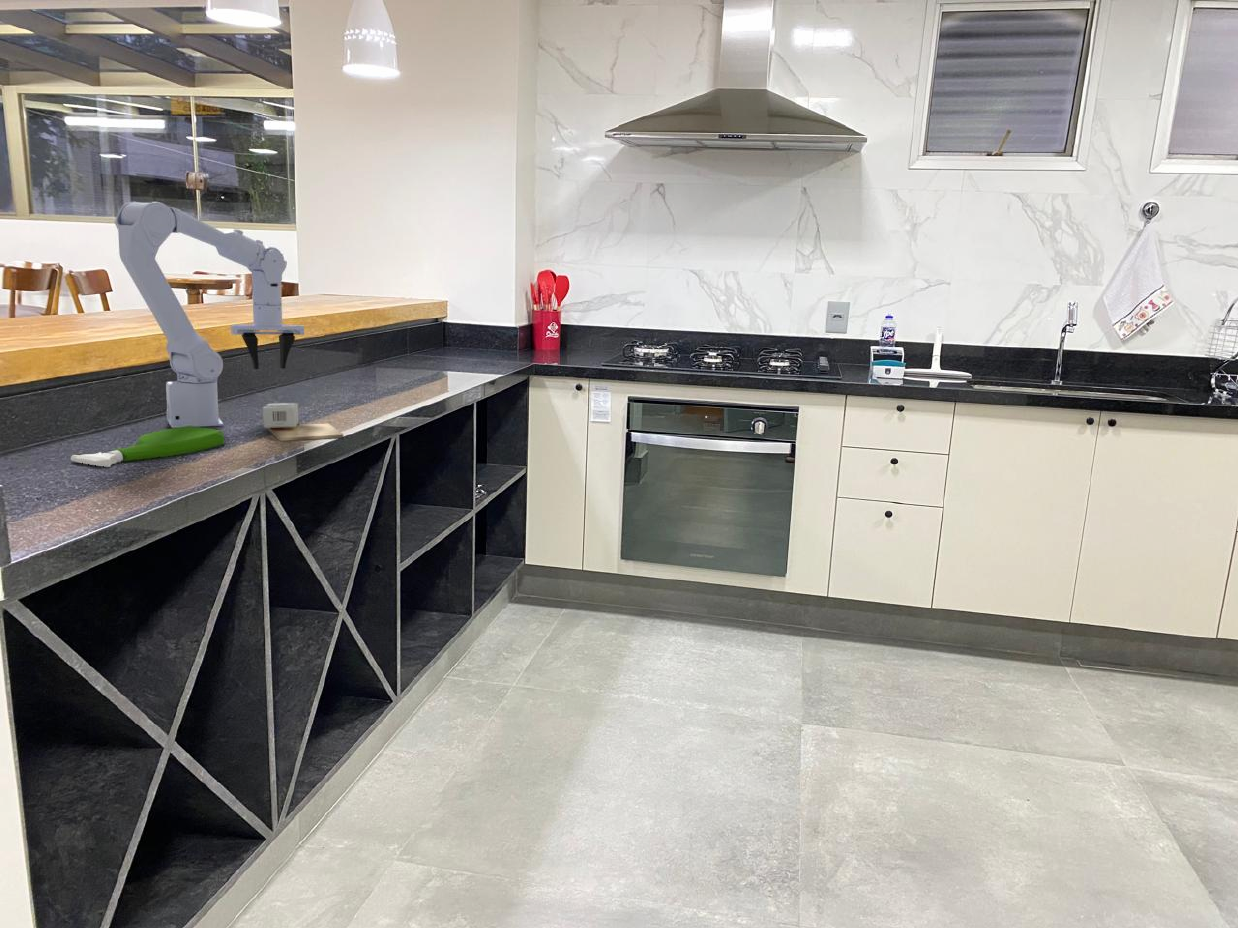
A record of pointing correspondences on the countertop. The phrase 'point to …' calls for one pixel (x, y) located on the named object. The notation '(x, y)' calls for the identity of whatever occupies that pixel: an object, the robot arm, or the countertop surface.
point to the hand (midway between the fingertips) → (269, 368)
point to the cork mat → (306, 432)
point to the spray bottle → (158, 446)
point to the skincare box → (280, 415)
